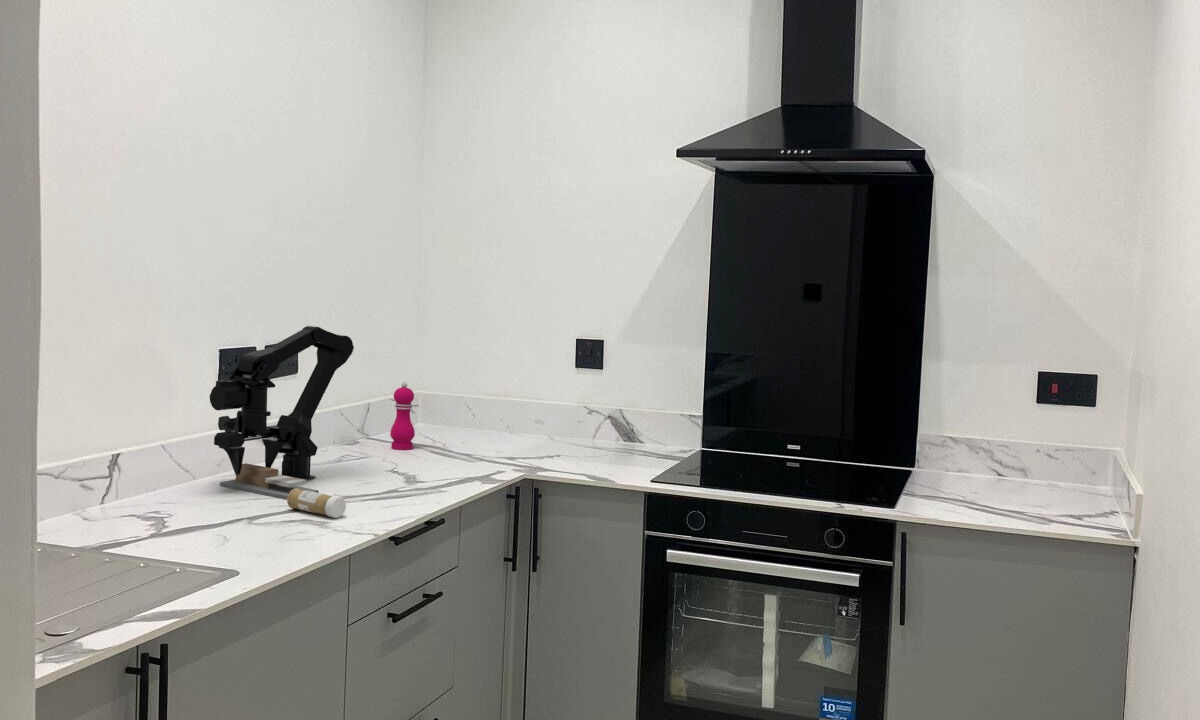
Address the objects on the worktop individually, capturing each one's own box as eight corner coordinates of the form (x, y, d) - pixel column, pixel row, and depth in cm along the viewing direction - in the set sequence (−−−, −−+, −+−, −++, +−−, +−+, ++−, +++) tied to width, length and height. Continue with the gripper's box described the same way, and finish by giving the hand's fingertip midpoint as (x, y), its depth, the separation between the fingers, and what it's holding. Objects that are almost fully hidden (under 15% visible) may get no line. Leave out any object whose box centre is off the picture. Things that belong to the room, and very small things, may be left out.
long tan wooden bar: (232, 482, 236) (232, 465, 236) (248, 479, 240) (249, 462, 240) (289, 493, 227) (290, 476, 226) (306, 490, 231) (306, 473, 231)
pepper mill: (388, 446, 300) (390, 380, 298) (412, 446, 302) (415, 381, 300) (390, 450, 293) (393, 383, 291) (415, 450, 295) (418, 383, 293)
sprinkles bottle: (286, 511, 215) (332, 521, 209) (285, 491, 214) (330, 500, 208) (302, 504, 219) (347, 514, 212) (301, 485, 218) (346, 494, 212)
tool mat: (249, 479, 243) (249, 476, 243) (318, 493, 232) (318, 490, 232) (219, 485, 235) (219, 482, 235) (289, 500, 224) (289, 496, 224)
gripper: (261, 400, 247) (259, 462, 248) (198, 406, 230) (197, 472, 232) (293, 405, 241) (291, 468, 243) (231, 412, 225) (230, 479, 226)
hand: (252, 471), depth 236 cm, fingers open, 9 cm apart
